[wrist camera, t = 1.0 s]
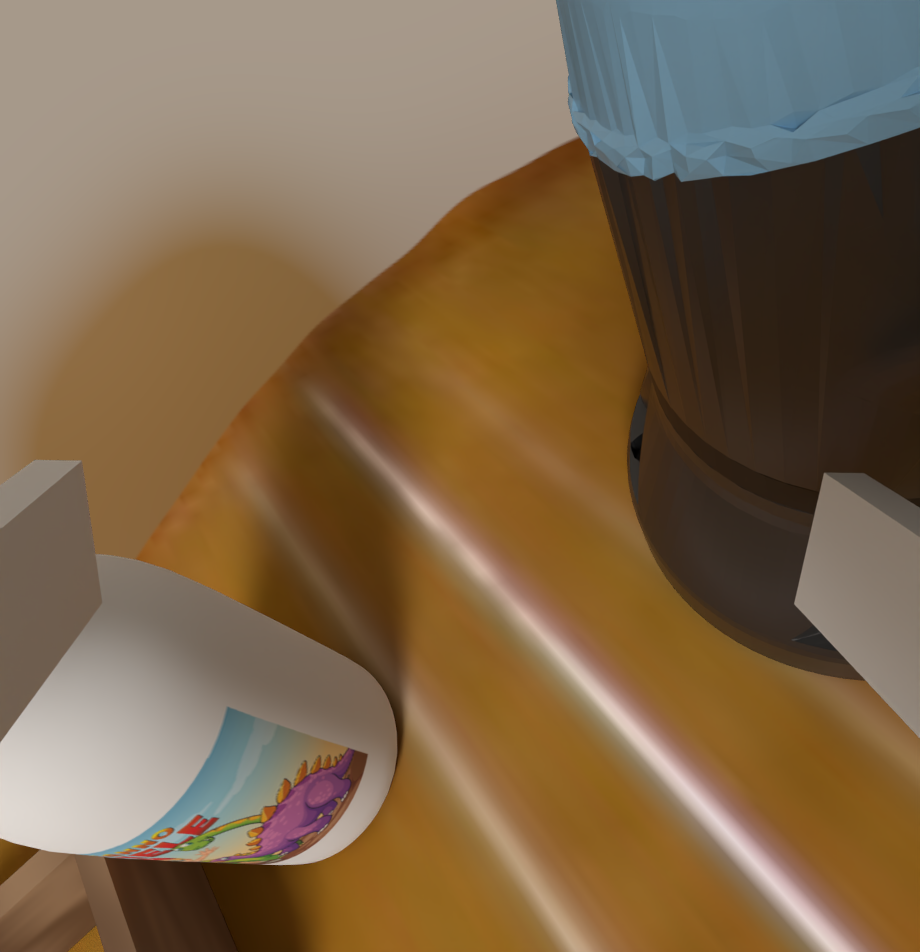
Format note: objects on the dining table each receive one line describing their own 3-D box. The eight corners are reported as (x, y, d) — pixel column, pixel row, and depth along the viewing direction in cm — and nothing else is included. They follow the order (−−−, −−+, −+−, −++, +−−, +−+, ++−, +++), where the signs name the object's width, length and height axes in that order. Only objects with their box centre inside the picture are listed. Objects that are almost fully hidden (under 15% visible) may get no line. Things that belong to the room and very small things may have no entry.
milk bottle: (231, 684, 32) (-336, 480, 16) (392, 636, 31) (-60, 351, 14) (231, 884, 28) (-528, 886, 12) (416, 842, 27) (-174, 776, 10)
